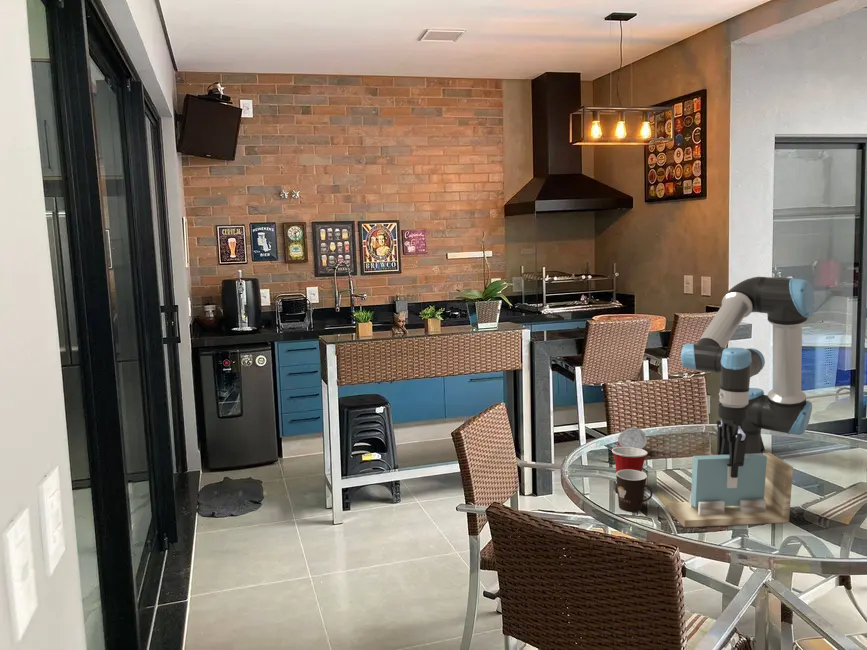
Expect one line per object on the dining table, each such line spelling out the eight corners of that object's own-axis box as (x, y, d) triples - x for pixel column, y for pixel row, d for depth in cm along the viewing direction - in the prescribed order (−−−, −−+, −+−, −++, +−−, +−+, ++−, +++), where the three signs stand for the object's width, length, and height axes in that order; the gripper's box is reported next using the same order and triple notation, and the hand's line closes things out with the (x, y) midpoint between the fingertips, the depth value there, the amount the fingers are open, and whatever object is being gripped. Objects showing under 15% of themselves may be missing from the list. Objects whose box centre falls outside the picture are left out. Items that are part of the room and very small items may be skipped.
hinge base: (765, 504, 217) (769, 452, 214) (788, 522, 205) (793, 467, 203) (666, 509, 214) (669, 456, 212) (684, 527, 203) (687, 471, 200)
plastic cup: (647, 482, 235) (648, 446, 233) (645, 495, 225) (646, 457, 223) (612, 478, 238) (613, 442, 236) (608, 490, 228) (609, 453, 226)
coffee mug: (611, 502, 220) (612, 470, 218) (639, 501, 220) (640, 468, 219) (624, 518, 208) (625, 484, 207) (654, 517, 209) (655, 483, 207)
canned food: (645, 465, 263) (658, 444, 258) (626, 468, 257) (639, 447, 253) (624, 443, 271) (637, 423, 266) (605, 446, 265) (618, 425, 260)
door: (758, 500, 212) (761, 453, 209) (763, 504, 209) (767, 456, 206) (690, 503, 210) (693, 455, 207) (695, 507, 207) (697, 459, 204)
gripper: (707, 397, 212) (702, 475, 216) (734, 412, 196) (729, 496, 200) (732, 396, 213) (727, 474, 217) (761, 411, 197) (756, 495, 201)
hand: (728, 484), depth 208 cm, fingers closed on door, 3 cm apart
